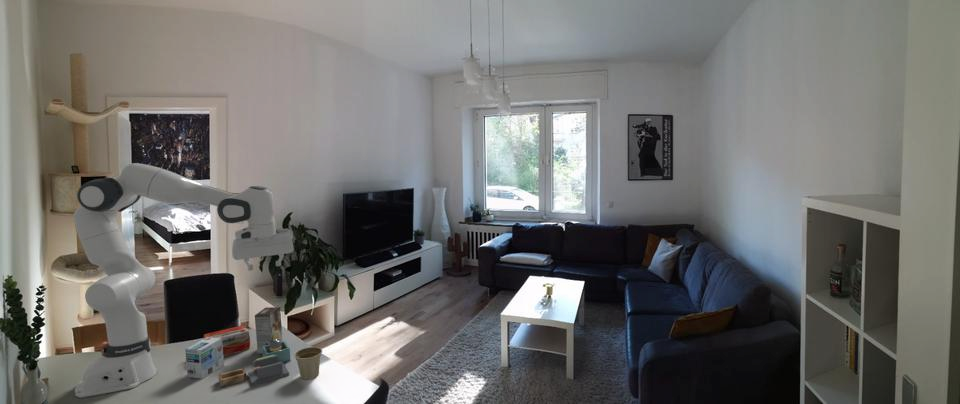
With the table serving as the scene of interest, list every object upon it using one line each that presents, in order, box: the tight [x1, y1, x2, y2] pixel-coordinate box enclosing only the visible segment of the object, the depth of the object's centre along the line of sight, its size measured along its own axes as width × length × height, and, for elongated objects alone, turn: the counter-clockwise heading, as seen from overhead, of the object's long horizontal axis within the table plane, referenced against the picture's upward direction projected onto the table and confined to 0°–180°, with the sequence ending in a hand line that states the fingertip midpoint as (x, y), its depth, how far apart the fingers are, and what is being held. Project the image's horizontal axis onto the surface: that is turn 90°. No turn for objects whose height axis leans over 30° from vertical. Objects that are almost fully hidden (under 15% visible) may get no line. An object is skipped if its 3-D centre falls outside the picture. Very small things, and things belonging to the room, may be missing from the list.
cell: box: [270, 339, 282, 352], centre depth 174 cm, size 4×4×8 cm
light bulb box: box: [184, 337, 225, 379], centre depth 166 cm, size 11×7×11 cm, turn 169°
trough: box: [218, 367, 248, 388], centre depth 159 cm, size 8×5×2 cm, turn 125°
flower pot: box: [293, 346, 323, 380], centre depth 162 cm, size 9×9×9 cm
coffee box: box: [254, 306, 284, 354], centre depth 184 cm, size 9×6×16 cm
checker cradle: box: [247, 355, 290, 386], centre depth 163 cm, size 12×9×5 cm
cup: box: [262, 340, 291, 364], centre depth 175 cm, size 8×8×5 cm
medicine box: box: [203, 324, 251, 357], centre depth 183 cm, size 15×8×8 cm, turn 130°
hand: (264, 267), depth 166 cm, fingers open, 8 cm apart
